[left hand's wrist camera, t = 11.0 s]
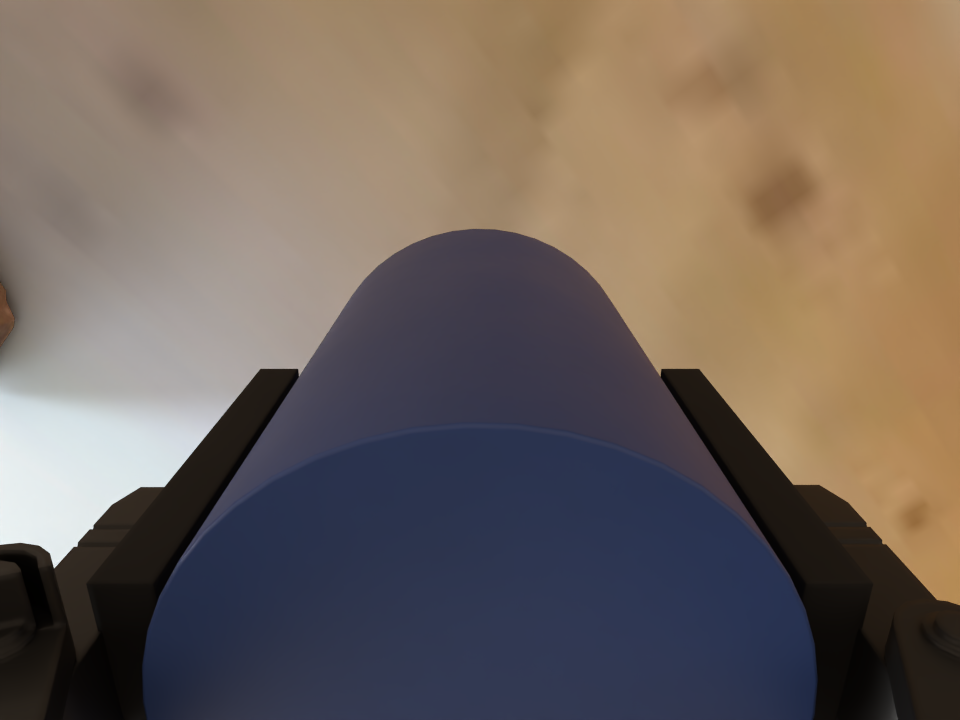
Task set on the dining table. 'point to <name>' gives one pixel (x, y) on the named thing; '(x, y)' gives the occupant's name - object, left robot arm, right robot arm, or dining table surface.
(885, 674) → the left robot arm
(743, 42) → the dining table surface
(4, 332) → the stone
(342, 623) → the can
